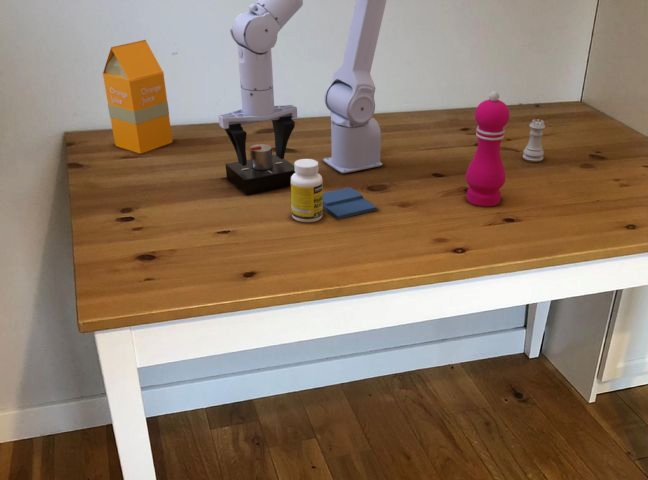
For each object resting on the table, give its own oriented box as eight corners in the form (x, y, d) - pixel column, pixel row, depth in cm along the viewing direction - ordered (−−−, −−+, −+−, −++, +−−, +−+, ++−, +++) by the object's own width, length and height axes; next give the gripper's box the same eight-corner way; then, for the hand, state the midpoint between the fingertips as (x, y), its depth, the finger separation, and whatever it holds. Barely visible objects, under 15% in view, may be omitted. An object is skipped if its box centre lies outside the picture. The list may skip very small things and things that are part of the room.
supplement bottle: (318, 225, 131) (316, 170, 125) (287, 221, 132) (285, 166, 126) (326, 212, 135) (326, 158, 130) (297, 208, 136) (295, 155, 131)
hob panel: (278, 168, 151) (278, 153, 150) (300, 184, 145) (299, 168, 143) (226, 178, 146) (225, 162, 144) (246, 195, 140) (244, 179, 138)
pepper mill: (506, 196, 145) (519, 88, 133) (497, 210, 139) (510, 99, 128) (469, 189, 146) (479, 83, 135) (459, 203, 141) (469, 93, 129)
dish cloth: (351, 192, 143) (351, 186, 142) (376, 210, 137) (376, 203, 136) (313, 201, 139) (312, 194, 138) (337, 219, 133) (337, 212, 132)
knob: (267, 161, 146) (266, 141, 144) (276, 168, 144) (275, 147, 141) (247, 164, 144) (246, 144, 142) (256, 171, 142) (255, 151, 139)
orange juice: (173, 142, 161) (160, 42, 150) (140, 154, 155) (124, 50, 144) (147, 134, 164) (132, 36, 153) (114, 145, 158) (96, 44, 147)
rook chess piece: (519, 160, 161) (524, 122, 156) (525, 153, 164) (530, 116, 160) (540, 164, 159) (546, 126, 155) (545, 157, 163) (551, 120, 158)
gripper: (283, 76, 142) (286, 147, 149) (209, 85, 135) (216, 159, 143) (301, 86, 137) (303, 159, 145) (225, 96, 130) (231, 172, 138)
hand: (261, 160), depth 143 cm, fingers open, 7 cm apart
